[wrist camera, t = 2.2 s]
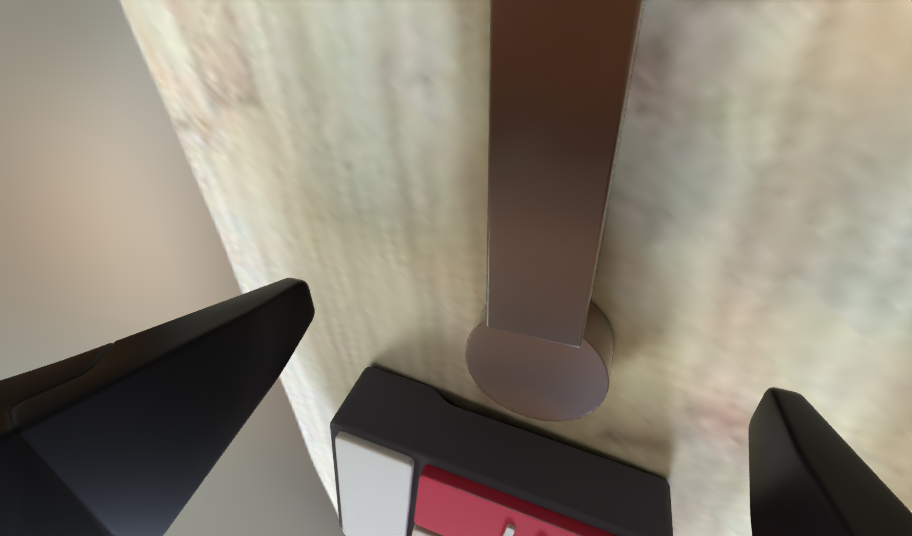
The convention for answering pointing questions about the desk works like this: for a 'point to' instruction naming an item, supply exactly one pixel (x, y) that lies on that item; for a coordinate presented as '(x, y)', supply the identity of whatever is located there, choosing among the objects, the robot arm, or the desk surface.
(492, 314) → the spoon
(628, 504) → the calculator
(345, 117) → the desk surface
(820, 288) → the desk surface
